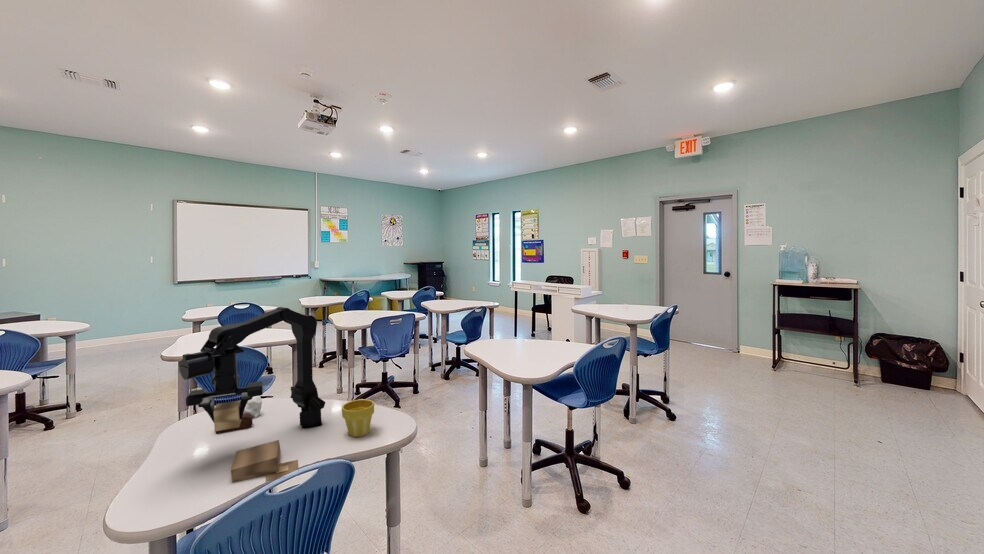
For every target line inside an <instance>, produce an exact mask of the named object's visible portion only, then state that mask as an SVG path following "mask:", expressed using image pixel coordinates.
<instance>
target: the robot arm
mask: <svg viewBox="0 0 984 554" xmlns="http://www.w3.org/2000/svg"><path fill="white" fill-rule="evenodd" d="M281 322H284V323H286V324H289V325H290V327H291V332H292V334H293V336H294V338H295V340H296V370H297V371H296V375H297V378H296V379H297V380H296V382H295V385H294V386H290V393H291V394H290V397H289V398H290V399H291V400H292V402H293V403H294V404H295V405H297V408H300V409H301V410H300V412H299V426H300V427H301V429H302V430H306V429H307V430H308V429H313V428H316V427H322V426H323V423H322V409H325V407H326V406H325V404H326V401H324V400H323V399H322V398H320V397H319V392H318V387H317V386H316V384H315V382H314V380H313V378H314V377H313V339H314V336H316V333H317V326H318V320H317V318H316V317H315V316H313V315H310V314H305V313H299V312H298V311H294V310H292V309H290V308H289V307H282V306H279V307H276V308H275V309H273V310H270V311H268V312H265V313H262V314H260V315H258V316H257V315H256V316H255V317H252V318H250V319H248V320H244V321H242V322H237V323H233V324H226V325H221V326H217V327H215V328H213V329H211V330H210V333H209V334H208V339H207V340H206V341H205V343H204V344H203V346H202V347H201V349H200V350H199V352H194V353H185V354H182V359H181V360H180V363H179V364H180V365H179V372H180V376H181V378H182V379H183V380H189V379H194V378H198V377H202V376H207V375H210V374H211V372H213V373H212V374H211V375H212V376H211V385H212V386H214V390H213V391H207V388H202V389H200V388H199V389H195V390H194V389H193V390H191V391H190V392H189V393H188V394H187V396H186V397H185V406H186V407H193V406H197V407H198V408H202V409H203V410H204V411H205V412H206V413H207V415H208V416H209V417H210V419H211V421H212V422H213V423H214V412H213V411H214V409H215V407H216V406H215V399H216V398H223V397H231V396H237V395H241V398H240V400H241V402H240V415H239V416H240V420H241V419H242V416H243V412H244V409H245V406H246V404H247V402H248V400H251V399H252V398H253V397H254V396H260V397H261V396H262V395H264V391H265V390H264V389H265V387H264V382H262V381H254V382H248V384H247V386H244V387H240V375H239V374H238V365H237V364H238V363H237V354H239V353H240V354H241V353H244V352H245V349H243V348H241V347H240V346H239V345H238V344H240V343H242V342H243V341H244V340H245V339H247V337H249V336H250V335H253V334H255V333H257V332H260V331H262V330H264V329H266V328H269V327H271V326H274V325H276V324H278V323H281Z"/></svg>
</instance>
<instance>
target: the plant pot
mask: <svg viewBox="0 0 984 554" xmlns="http://www.w3.org/2000/svg"><path fill="white" fill-rule="evenodd" d="M374 413H375V402H374V401H373V400H371V399H361V398H360V399H354V400H350V401H348V402H345V403H343V404H342V406H341V416H342V418H343V419H344V420H345V421H344V422H345V425H346V428H347V432H348V435H349V436H350V437H355V438H357V437H358V436H359V437H362V436H363V437H364V436H366V435H368V433H370V428H371V424H372V423H371V422H372V418H373V415H374ZM365 434H366V435H365Z"/></svg>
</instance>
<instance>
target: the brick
mask: <svg viewBox="0 0 984 554" xmlns="http://www.w3.org/2000/svg"><path fill="white" fill-rule="evenodd" d="M252 426H253V415H251V414H250V413H243V416H242V419H241V423H240V426H239V427H237V428H232V429H226V430H220V431H215V433H216V434H217V435H218V434H224V433H230V432H236V431H240V430H241V431H242V430H247V429H251V428H252Z"/></svg>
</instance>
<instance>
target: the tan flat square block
mask: <svg viewBox="0 0 984 554" xmlns="http://www.w3.org/2000/svg"><path fill="white" fill-rule="evenodd" d="M281 453H282V452H281V445H280V440H279V439H277V440H274V441H269V442H266V443H263V444H259V445H255V446H250V447H247V448H244V449H239V450H236V452H235V455H234V458H233V460H232V465H231V467H230V468H231V469H230V475H231V479H232V483H237V482H241V481H246V480H251V479H255V478H259V477H263V476H266V474H269V473H273V472H276V471H279V467H280V463H281V456H282V455H281Z"/></svg>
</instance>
